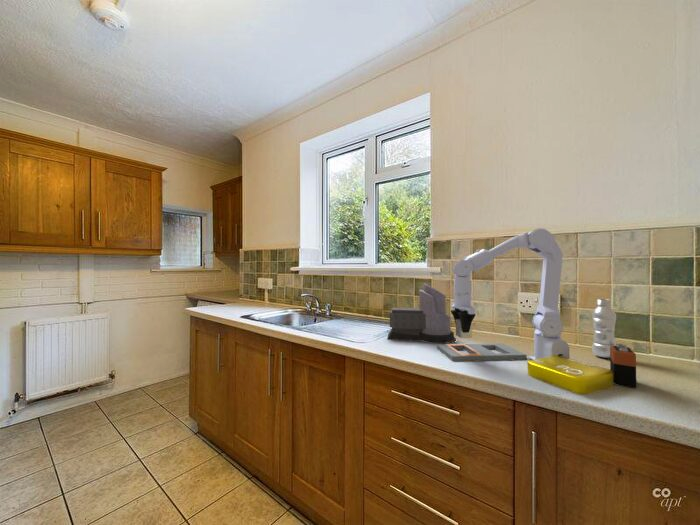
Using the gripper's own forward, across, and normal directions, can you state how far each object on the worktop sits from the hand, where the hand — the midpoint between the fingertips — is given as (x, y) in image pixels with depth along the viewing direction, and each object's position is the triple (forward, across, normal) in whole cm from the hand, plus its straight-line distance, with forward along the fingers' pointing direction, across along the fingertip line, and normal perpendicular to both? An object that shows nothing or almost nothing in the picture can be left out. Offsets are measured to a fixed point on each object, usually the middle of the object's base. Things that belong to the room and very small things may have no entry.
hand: (462, 330), depth 102 cm
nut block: (+2, 0, 0) cm, 2 cm away
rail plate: (+8, 0, +6) cm, 10 cm away
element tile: (+9, +24, +19) cm, 32 cm away
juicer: (+9, -24, -8) cm, 27 cm away
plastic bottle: (+8, +7, +47) cm, 48 cm away
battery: (+9, +27, +32) cm, 43 cm away
